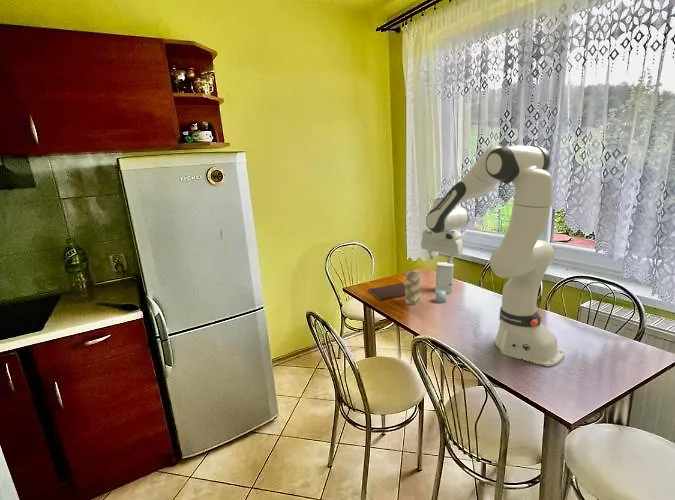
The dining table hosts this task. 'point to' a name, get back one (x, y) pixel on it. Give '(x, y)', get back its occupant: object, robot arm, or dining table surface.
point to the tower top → (412, 278)
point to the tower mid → (412, 289)
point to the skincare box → (444, 276)
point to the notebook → (389, 291)
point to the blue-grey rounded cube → (440, 296)
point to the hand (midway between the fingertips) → (440, 261)
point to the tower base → (412, 299)
